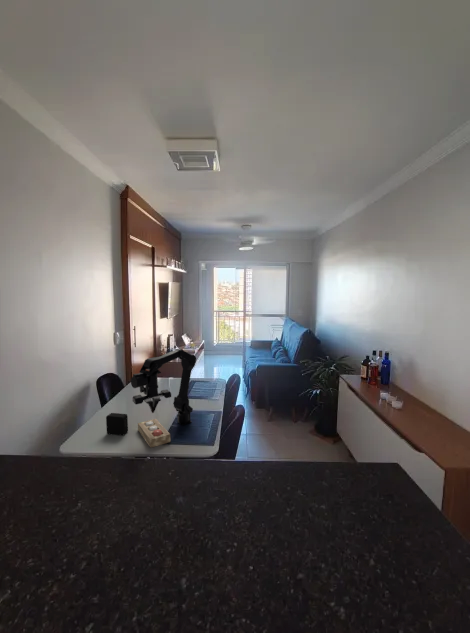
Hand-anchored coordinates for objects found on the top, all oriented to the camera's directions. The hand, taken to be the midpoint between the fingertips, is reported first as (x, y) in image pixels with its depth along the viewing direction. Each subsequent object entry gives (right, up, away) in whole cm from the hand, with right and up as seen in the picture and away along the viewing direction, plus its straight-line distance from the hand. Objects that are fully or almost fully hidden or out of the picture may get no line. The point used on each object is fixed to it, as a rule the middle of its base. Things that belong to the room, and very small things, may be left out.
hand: (152, 412), depth 153 cm
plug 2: (0, -12, +1) cm, 12 cm away
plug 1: (-3, -12, +6) cm, 14 cm away
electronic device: (-20, -13, +5) cm, 24 cm away
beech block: (0, -12, +1) cm, 12 cm away
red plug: (+4, -12, -4) cm, 13 cm away
